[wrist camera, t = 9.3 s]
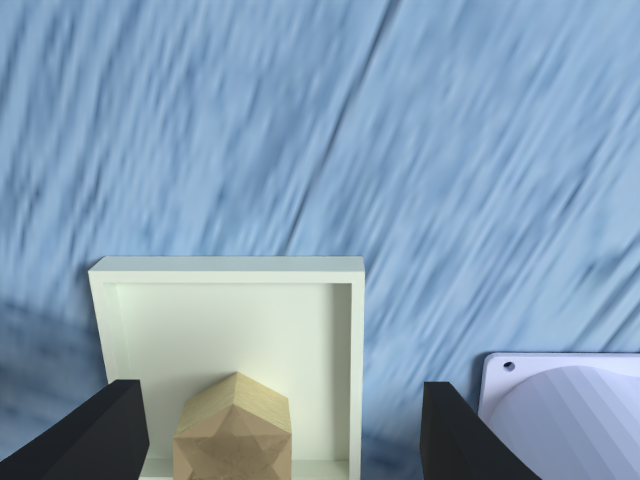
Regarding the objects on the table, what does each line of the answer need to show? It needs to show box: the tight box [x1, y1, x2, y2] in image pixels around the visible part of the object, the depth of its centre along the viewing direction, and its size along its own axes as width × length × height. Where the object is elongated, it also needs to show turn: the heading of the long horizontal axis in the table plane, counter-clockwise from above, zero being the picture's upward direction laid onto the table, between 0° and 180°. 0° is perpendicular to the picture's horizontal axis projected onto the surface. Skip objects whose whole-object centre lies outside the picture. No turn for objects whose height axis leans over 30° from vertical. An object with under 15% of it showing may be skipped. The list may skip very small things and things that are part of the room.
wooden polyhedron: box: [173, 372, 292, 480], centre depth 22 cm, size 5×5×3 cm
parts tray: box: [88, 256, 365, 480], centre depth 23 cm, size 11×11×2 cm
